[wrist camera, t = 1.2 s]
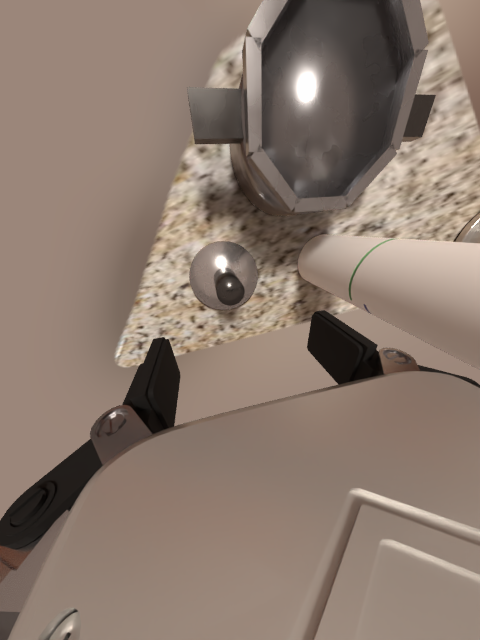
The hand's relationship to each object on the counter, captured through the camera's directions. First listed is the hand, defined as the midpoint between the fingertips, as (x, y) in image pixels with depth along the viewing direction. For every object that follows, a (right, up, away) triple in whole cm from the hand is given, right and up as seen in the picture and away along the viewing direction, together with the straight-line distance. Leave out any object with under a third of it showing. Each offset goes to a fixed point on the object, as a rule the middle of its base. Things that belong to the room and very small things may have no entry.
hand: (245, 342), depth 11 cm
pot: (+5, +21, +8) cm, 23 cm away
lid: (-3, +8, +14) cm, 17 cm away
